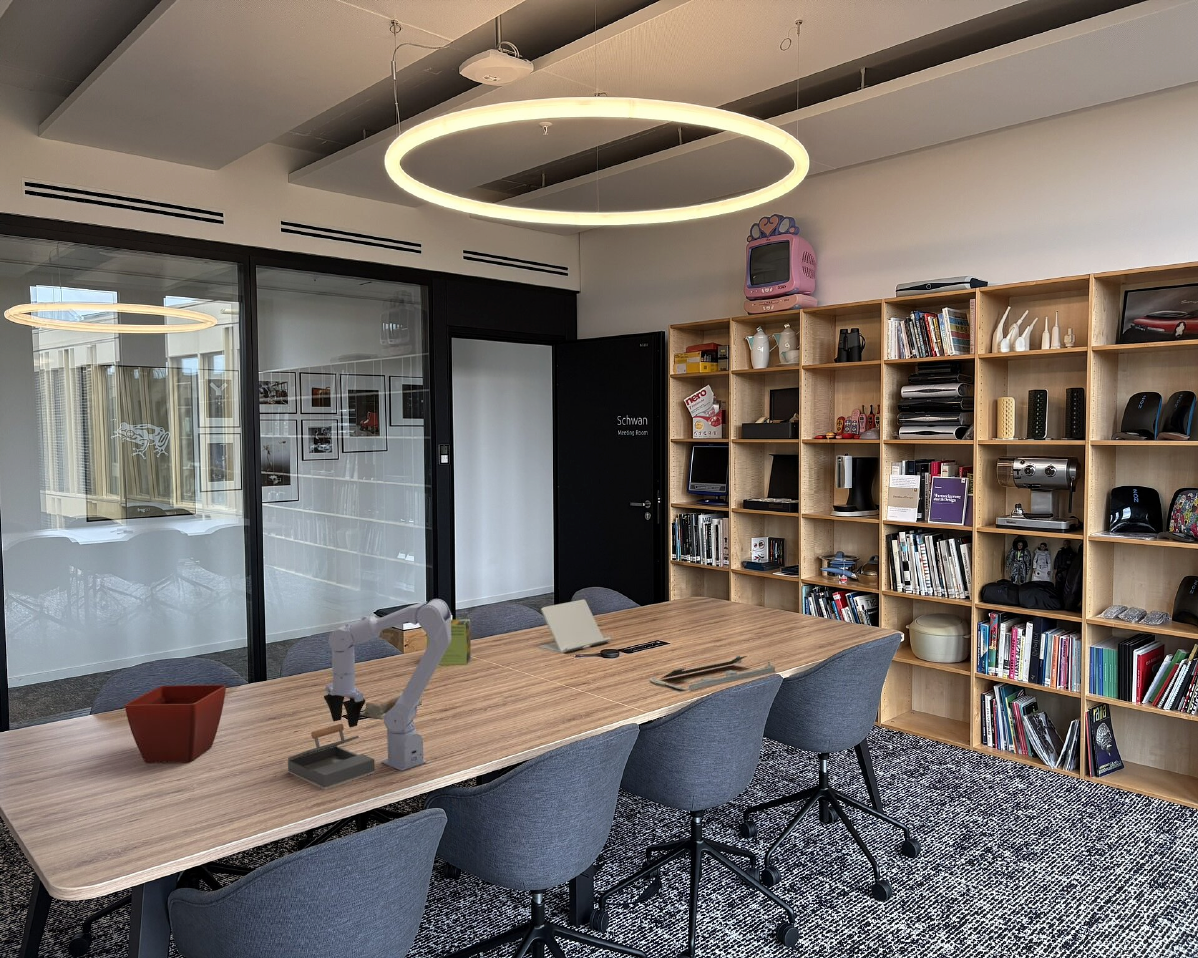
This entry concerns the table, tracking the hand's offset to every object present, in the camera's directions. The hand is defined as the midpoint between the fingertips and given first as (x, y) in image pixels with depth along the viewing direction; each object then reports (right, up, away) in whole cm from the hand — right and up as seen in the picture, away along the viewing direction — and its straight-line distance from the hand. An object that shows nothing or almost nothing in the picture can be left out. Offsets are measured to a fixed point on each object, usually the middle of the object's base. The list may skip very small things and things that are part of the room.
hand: (345, 723), depth 231 cm
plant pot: (-48, -11, +8) cm, 50 cm away
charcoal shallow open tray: (-1, -11, -7) cm, 13 cm away
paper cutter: (+107, -6, +78) cm, 132 cm away
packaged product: (+1, -9, +46) cm, 47 cm away
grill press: (-4, -5, -5) cm, 8 cm away
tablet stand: (+57, -5, +129) cm, 142 cm away
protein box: (+9, -6, +106) cm, 106 cm away
